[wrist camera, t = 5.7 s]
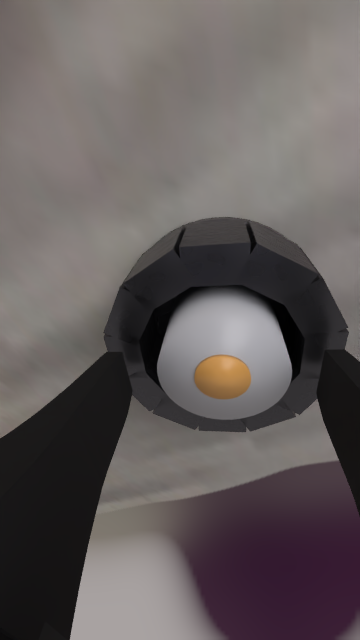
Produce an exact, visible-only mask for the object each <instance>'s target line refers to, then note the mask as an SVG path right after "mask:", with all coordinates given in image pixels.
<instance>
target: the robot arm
mask: <svg viewBox="0 0 360 640" xmlns="http://www.w3.org/2000/svg"><path fill="white" fill-rule="evenodd" d="M132 391H133V390H132V386H131V383H130V379H129V375H128V371H127V368H126V364H125V360H124V357H123V353H122V352H106V353H105V354H104V355H103V356H102V357H100V358H99V359H98V360H97V361H96V362H95V363H94V364H93V365H92V366H91V367H90V368H88V369H87V370H86V371H85V372H84V373H83V374H82V375H81V376H80V377H79V378H77V379H76V380H75V381H74V382H73V383H72V384H71V385H70V386H69V387H68V388H66V389H65V390H64V391H63V392H62V393H60V394H59V395H58V396H57V397H56V398H54V399H53V400H52V401H51V402H50V403H48V404H47V405H46V406H45V407H44V408H42V409H41V410H40V411H38V412H37V413H36V414H35V415H33V416H32V417H31V418H29V419H28V420H27V421H25V422H24V423H22V424H21V425H20V426H18V427H17V428H15V429H14V430H13V431H11V432H10V433H8V434H7V435H5V436H4V437H2V438H0V640H70V635H71V629H72V623H73V618H74V613H75V607H76V602H77V597H78V591H79V586H80V581H81V576H82V571H83V567H84V562H85V557H86V553H87V547H88V543H89V539H90V535H91V531H92V526H93V522H94V518H95V514H96V510H97V506H98V502H99V498H100V494H101V490H102V486H103V483H104V480H105V477H106V474H107V471H108V468H109V465H110V462H111V460H112V457H113V454H114V451H115V448H116V446H117V443H118V440H119V437H120V435H121V432H122V429H123V426H124V423H125V420H126V417H127V414H128V410H129V406H130V401H131V396H132ZM316 394H317V398H318V402H319V406H320V410H321V414H322V417H323V421H324V423H325V426H326V428H327V431H328V433H329V436H330V439H331V441H332V444H333V446H334V448H335V451H336V453H337V456H338V458H339V461H340V463H341V466H342V468H343V471H344V473H345V475H346V478H347V481H348V483H349V486H350V488H351V491H352V494H353V497H354V499H355V502H356V505H357V509H358V512H359V515H360V362H359V361H358V360H357V359H356V358H354V357H353V356H352V355H351V354H350V353H348V352H347V351H346V350H344V349H334V350H325V352H324V357H323V362H322V367H321V371H320V376H319V381H318V386H317V391H316Z"/></svg>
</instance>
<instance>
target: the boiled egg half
mask: <svg viewBox="0 0 360 640" xmlns="http://www.w3.org/2000/svg"><path fill="white" fill-rule="evenodd" d="M157 374H158V379H159V382H160V384H161V386H162V388H163V390H164V391H165V393H166V394H167V395H168V396H169V398H170V399H171V400H173V401H174V402H175V403H176V404H177V405H179V406H180V407H182V408H183V409H185V410H187V411H189V412H191V413H193V414H196V415H199V416H203V417H206V418H212V419H221V420H233V419H241V418H246V417H250V416H254V415H256V414H259V413H261V412H263V411H265V410H267V409H269V408H270V407H272V406H273V405H274V404H276V403H277V402H278V401H279V400H280V399H281V398H282V397H283V395H284V394H285V392H286V391H287V389H288V387H289V385H290V382H291V378H292V366H291V361H290V358H289V355H288V352H287V348H286V345H285V342H284V339H283V336H282V332H281V329H280V326H279V323H278V320H277V316H276V313H275V310H274V307H273V304H272V301H271V298H269V297H266V296H264V295H262V294H260V293H258V292H256V291H254V290H252V289H249V288H247V287H245V286H243V285H222V286H200V287H190V288H189V289H187V290H185V291H184V292H182V293H180V294H179V295H177V297H176V299H175V301H174V304H173V308H172V312H171V315H170V319H169V322H168V326H167V330H166V333H165V337H164V340H163V344H162V348H161V351H160V355H159V359H158V362H157Z"/></svg>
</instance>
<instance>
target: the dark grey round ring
mask: <svg viewBox="0 0 360 640" xmlns="http://www.w3.org/2000/svg"><path fill="white" fill-rule="evenodd" d="M222 285H243V286H245V287H247V288H249V289H252V290H254V291H256V292H258V293H260V294H262V295H264V296H266V297H269V298H271V301H272V304H273V307H274V310H275V313H276V316H277V320H278V323H279V326H280V329H281V332H282V336H283V339H284V342H285V345H286V348H287V352H288V355H289V358H290V361H291V366H292V378H291V382H290V385H289V387H288V389H287V391H286V392H285V394H284V395H283V397H282V398H281V399H280V400H279V401H278V402H277V403H276V404H274V405H273V406H272V407H270V408H269V409H267V410H265V411H263V412H261V413H259V414H256V415H254V416H250V417H246V418H241V419H233V420H221V419H212V418H206V417H203V416H199V415H196V414H193V413H191V412H189V411H187V410H185V409H183V408H182V407H180V406H179V405H177V404H176V403H175V402H174V401H173V400H171V399H170V398H169V396H168V395H167V394H166V393H165V391H164V390H163V388H162V386H161V384H160V382H159V379H158V374H157V362H158V359H159V355H160V351H161V348H162V344H163V340H164V337H165V333H166V330H167V326H168V322H169V319H170V315H171V312H172V308H173V304H174V301H175V299H176V297H177V295H179V294H180V293H182V292H184V291H185V290H187V289H189V288H190V287H200V286H222ZM346 328H348V326H347V324H346V322H345V320H344V318H343V316H342V314H341V312H340V310H339V308H338V307H337V305H336V303H335V301H334V299H333V297H332V295H331V293H330V291H329V289H328V287H327V285H326V283H325V281H324V279H323V278H322V276H321V275H320V273H319V272H318V271H317V269H316V268H315V267H314V265H313V264H312V263H311V261H310V260H309V258H308V257H307V256H306V254H305V253H304V252H303V250H302V249H301V248H299V246H298V245H297V244H296V243H294V242H292V241H290V240H288V239H287V238H285V237H284V236H283V235H282V234H280V233H278V232H277V231H275V230H273V229H272V228H270V227H267V226H265V225H262V224H260V223H257V222H254V221H250V220H246V219H240V218H231V217H219V218H209V219H203V220H199V221H195V222H192V223H188V224H186V225H183V226H181V227H179V228H177V229H175V230H173V231H172V232H170V233H169V234H167V235H165V236H164V237H163V238H161V239H160V240H159V241H158V242H157V243H155V244H154V245H153V247H152V248H150V249H149V250H148V251H146V252H145V253H143V254H142V256H141V257H140V258H139V260H138V261H137V263H136V264H135V266H134V267H133V269H132V270H131V272H130V273H129V275H128V276H127V278H126V279H125V281H124V282H123V284H122V285H121V287H120V288H119V291H118V294H117V297H116V300H115V302H114V305H113V308H112V311H111V313H110V316H109V319H108V322H107V325H106V327H105V330H104V333H105V335H104V340H105V343H106V347H107V350H108V352H122V353H123V357H124V360H125V364H126V368H127V371H128V375H129V379H130V383H131V386H132V390H133V391H132V395H133V396H134V397H135V398H136V399H137V400H138V401H139V402H140V403H141V404H142V405H143V406H144V407H146V408H147V409H148V410H149V411H151V410H153V409H154V411H153V414H156V415H158V416H161V417H164V418H166V419H169V420H171V421H174V422H176V423H179V424H182V425H184V426H187V427H189V428H192V429H194V430H195V429H196V428H197V427H198V425H199V431H228V432H246V427H247V428H248V429H249V430H250V431H254V430H257V429H260V428H263V427H266V426H269V425H272V424H275V423H278V422H281V421H284V420H287V419H291V418H294V417H296V416H295V413H297V414H299V415H300V414H301V413H302V412H303V411H304V410H305V409H306V408H308V407H309V406H310V405H311V404H312V403H313V402H314V401H315V400H316V399H317V394H316V391H317V386H318V381H319V376H320V371H321V367H322V362H323V357H324V352H325V350H334V349H345V345H346V341H347V337H348V333H349V332H348V330H347V329H346Z"/></svg>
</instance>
